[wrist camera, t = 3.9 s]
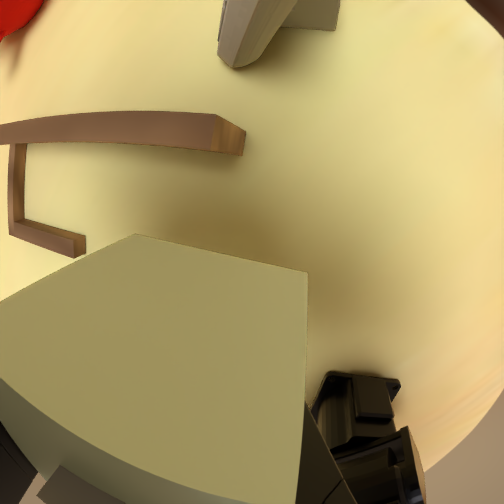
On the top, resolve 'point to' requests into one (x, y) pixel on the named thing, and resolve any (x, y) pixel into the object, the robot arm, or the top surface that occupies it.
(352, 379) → the robot arm
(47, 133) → the wall board
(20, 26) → the ceramic cup
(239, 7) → the digital clock
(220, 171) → the top surface
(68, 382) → the cabinet block
